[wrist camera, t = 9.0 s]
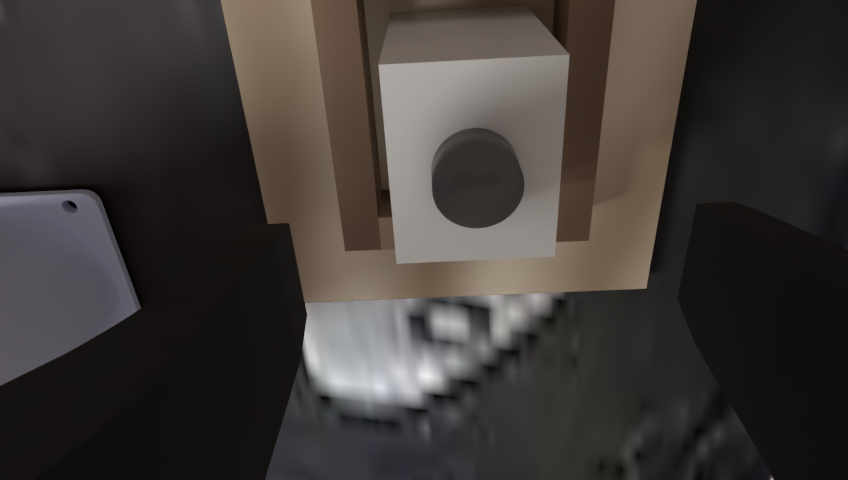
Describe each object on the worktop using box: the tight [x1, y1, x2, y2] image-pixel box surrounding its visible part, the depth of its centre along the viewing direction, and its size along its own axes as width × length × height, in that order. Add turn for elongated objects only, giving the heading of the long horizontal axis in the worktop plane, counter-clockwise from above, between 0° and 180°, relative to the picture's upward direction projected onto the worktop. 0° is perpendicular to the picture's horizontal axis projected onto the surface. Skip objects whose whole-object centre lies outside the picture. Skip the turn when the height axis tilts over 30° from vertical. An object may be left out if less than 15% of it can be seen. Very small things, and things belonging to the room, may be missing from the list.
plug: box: [378, 5, 569, 264], centre depth 16 cm, size 4×5×7 cm
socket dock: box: [221, 0, 697, 303], centre depth 18 cm, size 14×16×3 cm
